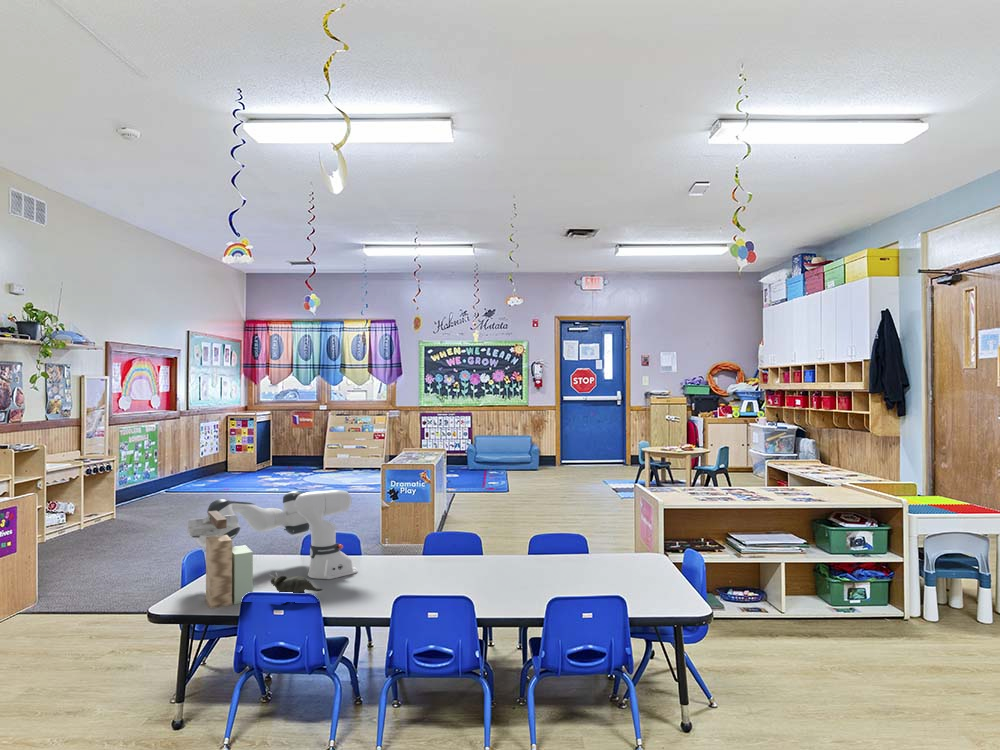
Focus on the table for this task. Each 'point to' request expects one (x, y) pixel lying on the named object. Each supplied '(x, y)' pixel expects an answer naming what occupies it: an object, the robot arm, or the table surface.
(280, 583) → the dinosaur figurine
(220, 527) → the bar
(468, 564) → the table surface
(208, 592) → the stand
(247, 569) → the pale green upright block
